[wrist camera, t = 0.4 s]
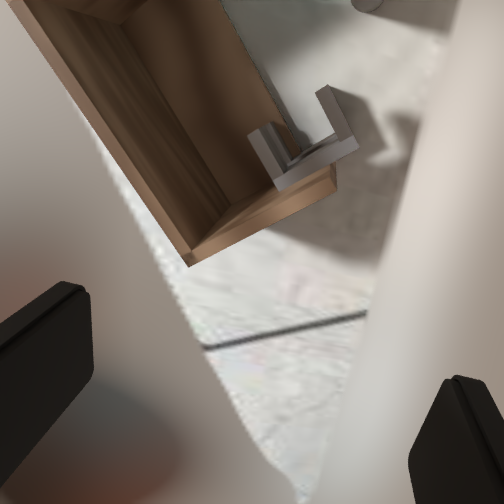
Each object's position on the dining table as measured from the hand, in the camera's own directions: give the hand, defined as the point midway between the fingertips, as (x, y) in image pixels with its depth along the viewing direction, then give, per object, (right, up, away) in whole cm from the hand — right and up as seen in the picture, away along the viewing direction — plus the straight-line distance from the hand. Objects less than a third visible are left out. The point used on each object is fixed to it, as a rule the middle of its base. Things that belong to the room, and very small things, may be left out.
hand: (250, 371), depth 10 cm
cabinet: (-2, +19, +24) cm, 31 cm away
